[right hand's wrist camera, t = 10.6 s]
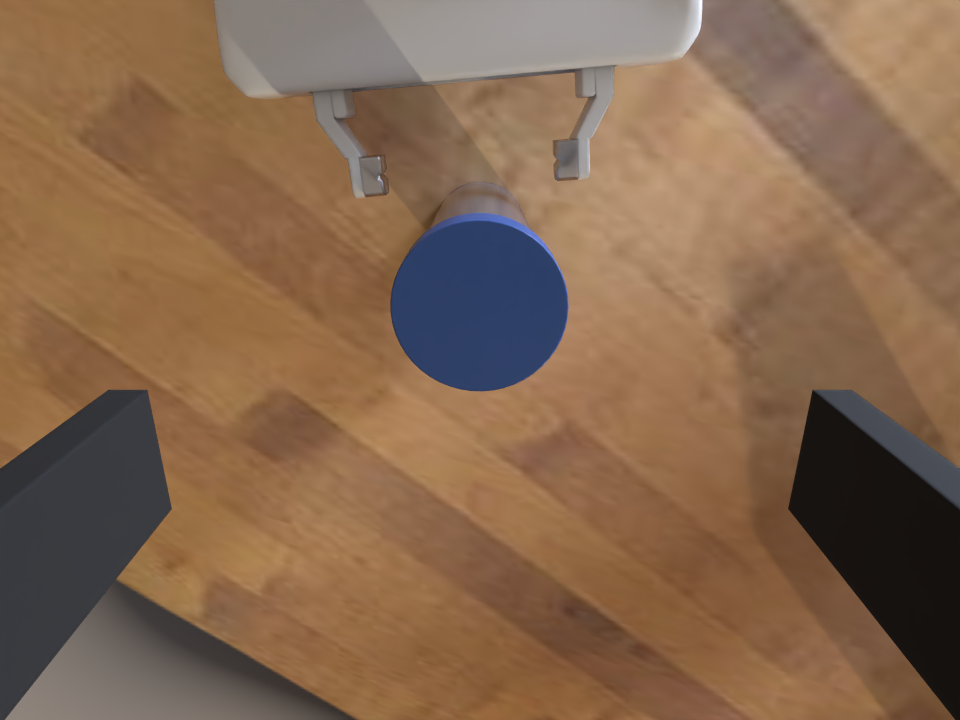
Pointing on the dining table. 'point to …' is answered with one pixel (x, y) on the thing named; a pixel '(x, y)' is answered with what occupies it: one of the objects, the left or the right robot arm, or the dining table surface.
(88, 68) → the dining table surface
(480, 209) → the jar
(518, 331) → the lid
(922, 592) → the right robot arm
